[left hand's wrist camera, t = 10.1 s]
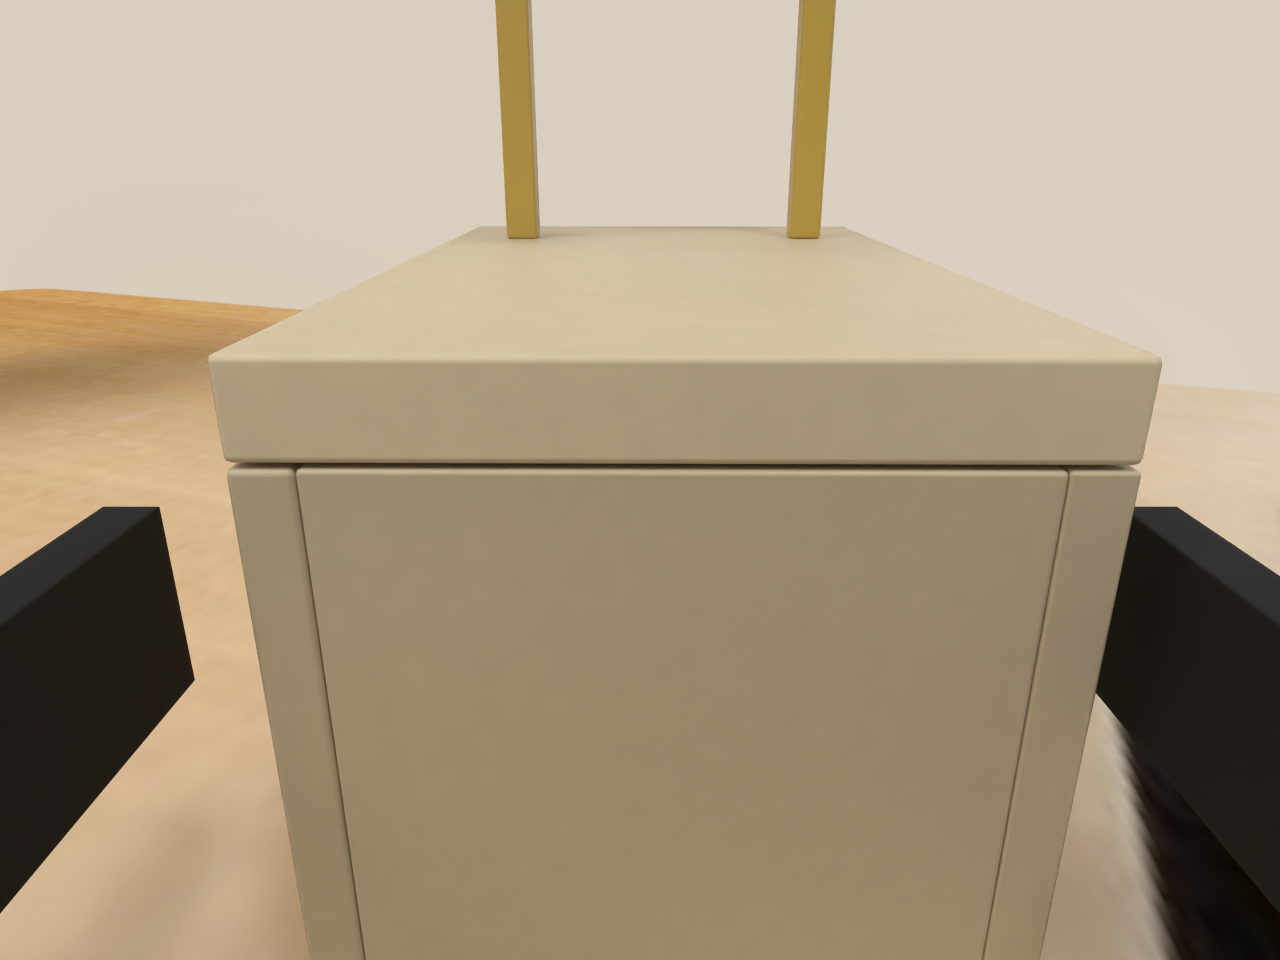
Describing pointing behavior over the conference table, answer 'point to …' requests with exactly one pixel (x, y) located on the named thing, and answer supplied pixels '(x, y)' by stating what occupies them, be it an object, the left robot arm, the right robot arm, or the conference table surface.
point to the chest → (679, 702)
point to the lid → (679, 340)
